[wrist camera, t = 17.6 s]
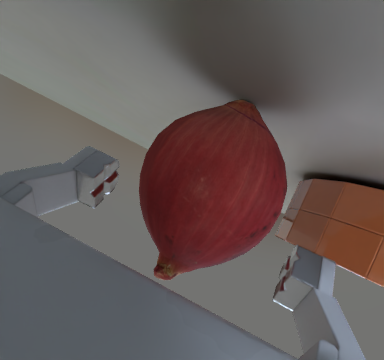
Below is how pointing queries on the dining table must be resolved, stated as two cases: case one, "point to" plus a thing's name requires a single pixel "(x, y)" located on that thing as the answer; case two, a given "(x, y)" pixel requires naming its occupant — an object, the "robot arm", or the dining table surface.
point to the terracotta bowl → (339, 225)
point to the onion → (211, 187)
